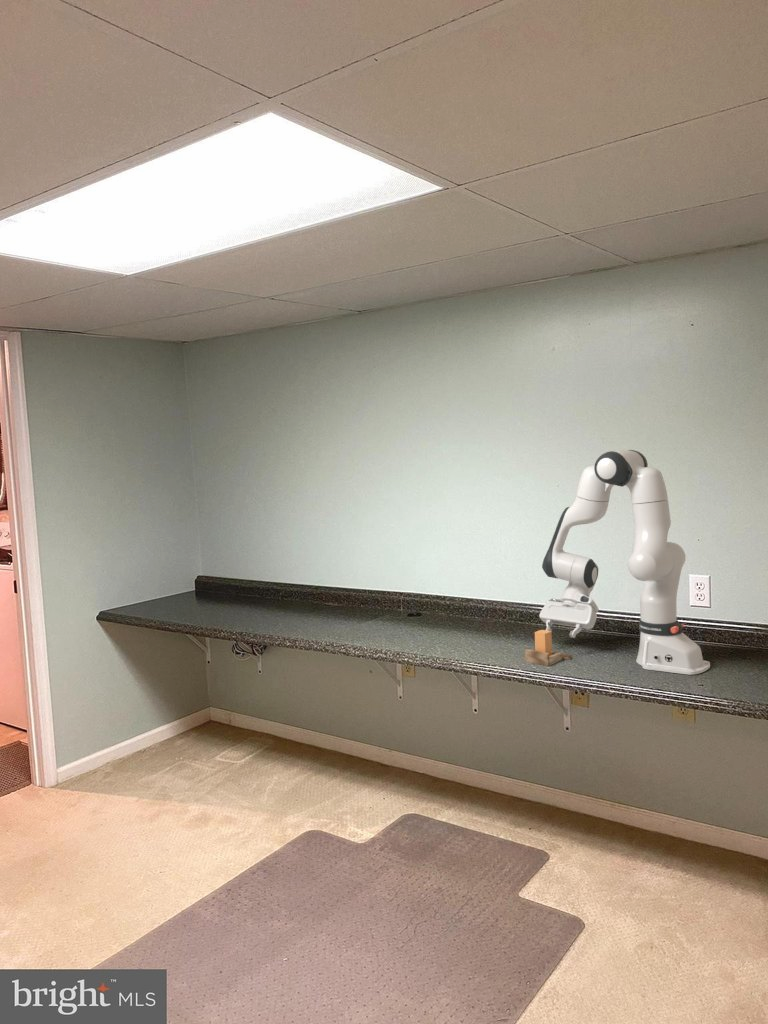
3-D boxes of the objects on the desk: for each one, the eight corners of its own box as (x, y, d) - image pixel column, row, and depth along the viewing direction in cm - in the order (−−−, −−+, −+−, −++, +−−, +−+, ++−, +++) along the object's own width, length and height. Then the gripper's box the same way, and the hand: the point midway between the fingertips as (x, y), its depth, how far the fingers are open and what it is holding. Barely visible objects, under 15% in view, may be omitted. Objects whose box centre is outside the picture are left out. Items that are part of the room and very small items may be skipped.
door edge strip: (571, 658, 262) (570, 654, 262) (568, 659, 261) (568, 656, 261) (540, 652, 270) (540, 649, 270) (538, 653, 269) (538, 650, 269)
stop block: (552, 660, 261) (551, 631, 260) (545, 663, 258) (544, 633, 257) (542, 658, 264) (541, 629, 263) (535, 661, 261) (534, 632, 260)
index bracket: (561, 659, 261) (561, 648, 260) (547, 666, 255) (547, 654, 254) (539, 655, 267) (539, 644, 266) (525, 661, 261) (525, 650, 261)
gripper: (544, 593, 278) (530, 625, 273) (596, 599, 264) (582, 634, 258) (552, 603, 282) (537, 635, 276) (603, 609, 268) (589, 644, 262)
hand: (559, 634), depth 267 cm, fingers open, 8 cm apart
